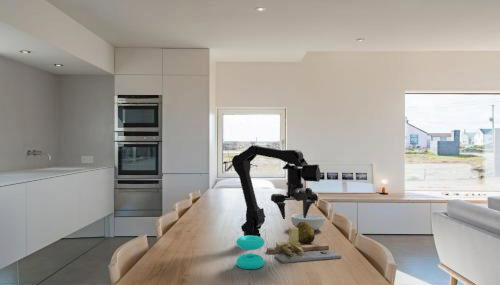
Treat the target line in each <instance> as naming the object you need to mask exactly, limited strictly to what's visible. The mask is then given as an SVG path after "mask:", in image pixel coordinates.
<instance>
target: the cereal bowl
mask: <svg viewBox="0 0 500 285" xmlns="http://www.w3.org/2000/svg"><path fill="white" fill-rule="evenodd" d="M290 218H291V219H290V221H291V224H292V225H293V227H296V226H297V224H298V223H299V222H303V221H304V222H308V223H309V224H310V226H311V227H312V228H313V231H314V232H315V231H317V230H319V229H320V228H322V227H323V226H324V223H325V216H323V215H321V214H314V213H307V215H306V218H304V217H303V213H295V214H292V215H291V217H290Z"/></svg>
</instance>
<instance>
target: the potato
mask: <svg viewBox="0 0 500 285" xmlns="http://www.w3.org/2000/svg"><path fill="white" fill-rule="evenodd" d="M296 227H297V228H298V241H300V242H303V243H306V244H310V243H313V242H314V240H315V238H316V237H315V231H313V228H312V227H311V226H310V224H309V223H308V222H304V221H303V222H299V223H298V224H297V226H296Z"/></svg>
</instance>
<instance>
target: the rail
mask: <svg viewBox="0 0 500 285" xmlns="http://www.w3.org/2000/svg"><path fill="white" fill-rule="evenodd" d="M301 248H302V249H303V250H304V252H311V251H324V250H330V246H329V245H328V244H327V243H318V244H305V245H304V244H303V245H302V244H301ZM266 252H267V253H268V254H269V255H271V254H285V253H289V255H291V253H298V252H299V251H298V250H296V249H295V248H290V247H289V246H288V244H287V242H285V241H279V242H278V241H276V242H275V246H273V247H266Z"/></svg>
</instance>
